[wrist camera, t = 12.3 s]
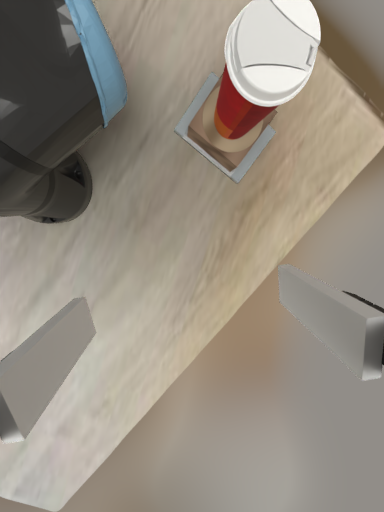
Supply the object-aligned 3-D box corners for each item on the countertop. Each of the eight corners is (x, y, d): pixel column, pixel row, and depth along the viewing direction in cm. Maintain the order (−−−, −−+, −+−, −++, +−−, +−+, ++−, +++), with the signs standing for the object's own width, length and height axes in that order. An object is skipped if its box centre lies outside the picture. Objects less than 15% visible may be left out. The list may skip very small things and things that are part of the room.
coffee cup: (266, 98, 31) (344, 1, 16) (248, 154, 32) (303, 112, 18) (214, 79, 30) (248, -44, 15) (199, 137, 31) (215, 78, 17)
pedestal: (187, 136, 36) (188, 125, 31) (221, 84, 34) (228, 64, 29) (230, 172, 38) (237, 166, 33) (264, 124, 36) (277, 111, 31)
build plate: (174, 132, 37) (174, 129, 35) (211, 75, 35) (212, 70, 34) (236, 184, 39) (238, 183, 38) (273, 133, 38) (276, 131, 36)
